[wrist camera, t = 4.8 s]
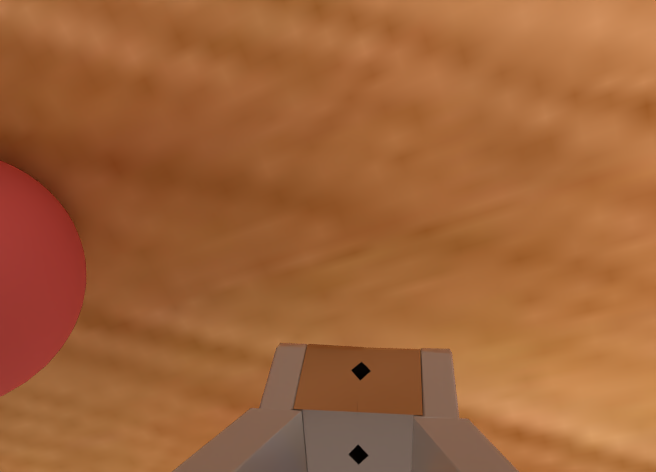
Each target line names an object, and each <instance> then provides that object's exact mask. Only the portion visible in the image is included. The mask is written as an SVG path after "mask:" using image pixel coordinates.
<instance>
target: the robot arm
mask: <svg viewBox="0 0 656 472" xmlns="http://www.w3.org/2000/svg"><path fill="white" fill-rule="evenodd" d="M172 472H519V471H518V470H517V469H516V468H515V467H514V466H513V465H512V464H511V463H510V462H509V461H508V460H507V459H506V458H505V457H504V456H503V455H502V454H501V453H500V452H499V450H498V449H497V448H496V447H495V446H494V445H493V444H492V443H491V442H490V441H489V440H488V439H487V438H486V437H485V436H484V435H483V434H482V433H481V432H480V431H479V430H478V429H477V428H476V427H475V426H474V424H473V423H472V422H471V421H470V420H469V419H460V418H459V412H458V403H457V394H456V385H455V376H454V368H453V359H452V352H451V351H450V349H426V348H421V350H420V349H399V348H366V347H351V346H334V345H317V344H308V345H307V344H293V343H280V344H279V345H278V347H277V348H276V351H275V355H274V358H273V362H272V365H271V369H270V372H269V376H268V379H267V383H266V386H265V390H264V393H263V397H262V400H261V404H260V407H259V409H258V408H250V409H249V410H248V411H247V412H245V413H244V414H243V415H242V416H240V417H239V418H238V419H237V420H236V421H234V422H233V423H232V424H231V425H229V426H228V427H227V428H226V429H224V430H223V431H222V432H221V433H219V434H218V435H217V436H216V437H214V438H213V439H212V440H211V441H209V442H208V443H207V444H206V445H204V446H203V447H202V448H201V449H199V450H198V451H197V452H196V453H195V454H193V455H192V456H191V457H190V458H188V459H187V460H186V461H185V462H183V463H182V464H181V465H180V466H178V467H177V468H176V469H175V470H173V471H172Z"/></svg>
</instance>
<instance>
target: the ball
mask: <svg viewBox="0 0 656 472" xmlns="http://www.w3.org/2000/svg"><path fill="white" fill-rule="evenodd" d="M85 288H86V262H85V256H84V251H83V247H82V244H81V241H80V238H79V235H78V233H77V230H76V228H75V226H74V224H73V222H72V220H71V218H70V217H69V215H68V213H67V212H66V210H65V209H64V208H63V206H62V205H61V204H60V202H59V201H58V200H57V199H56V198H55V197H54V196H53V195H52V194H51V193H50V192H49V191H48V190H47V189H46V188H45V187H44V186H43V185H42V184H40V183H39V182H38V181H36V180H35V179H34V178H32V177H31V176H30V175H28V174H26V173H25V172H23V171H21V170H20V169H18V168H16V167H14V166H12V165H9V164H7V163H5V162H3V161H0V396H3V395H4V394H6V393H8V392H10V391H11V390H13V389H15V388H17V387H18V386H20V385H22V384H23V383H25V382H26V381H28V380H29V379H30V378H31V377H33V376H34V375H35V374H36V373H38V372H39V371H40V370H41V369H42V368H44V367H45V366H46V365H47V364H48V363H49V362H50V360H51V359H52V358H53V357H54V356H55V355H56V354H57V352H58V351H59V350H60V349H61V348H62V346H63V345H64V343H65V342H66V340H67V339H68V337H69V335H70V333H71V332H72V330H73V328H74V326H75V324H76V321H77V319H78V316H79V314H80V311H81V308H82V305H83V299H84V294H85Z"/></svg>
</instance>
